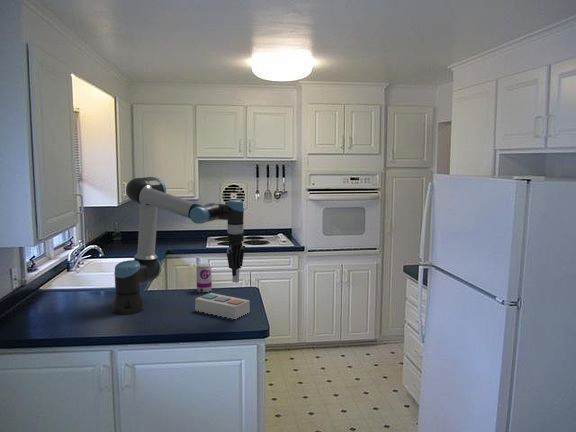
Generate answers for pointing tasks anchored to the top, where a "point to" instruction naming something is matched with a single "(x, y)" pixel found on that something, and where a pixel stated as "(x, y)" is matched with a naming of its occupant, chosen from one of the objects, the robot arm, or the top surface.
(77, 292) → the top surface
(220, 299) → the grey key
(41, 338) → the top surface
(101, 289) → the top surface
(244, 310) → the keypad
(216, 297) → the teal key
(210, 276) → the supplement can
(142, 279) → the robot arm
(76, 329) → the top surface
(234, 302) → the terracotta key
